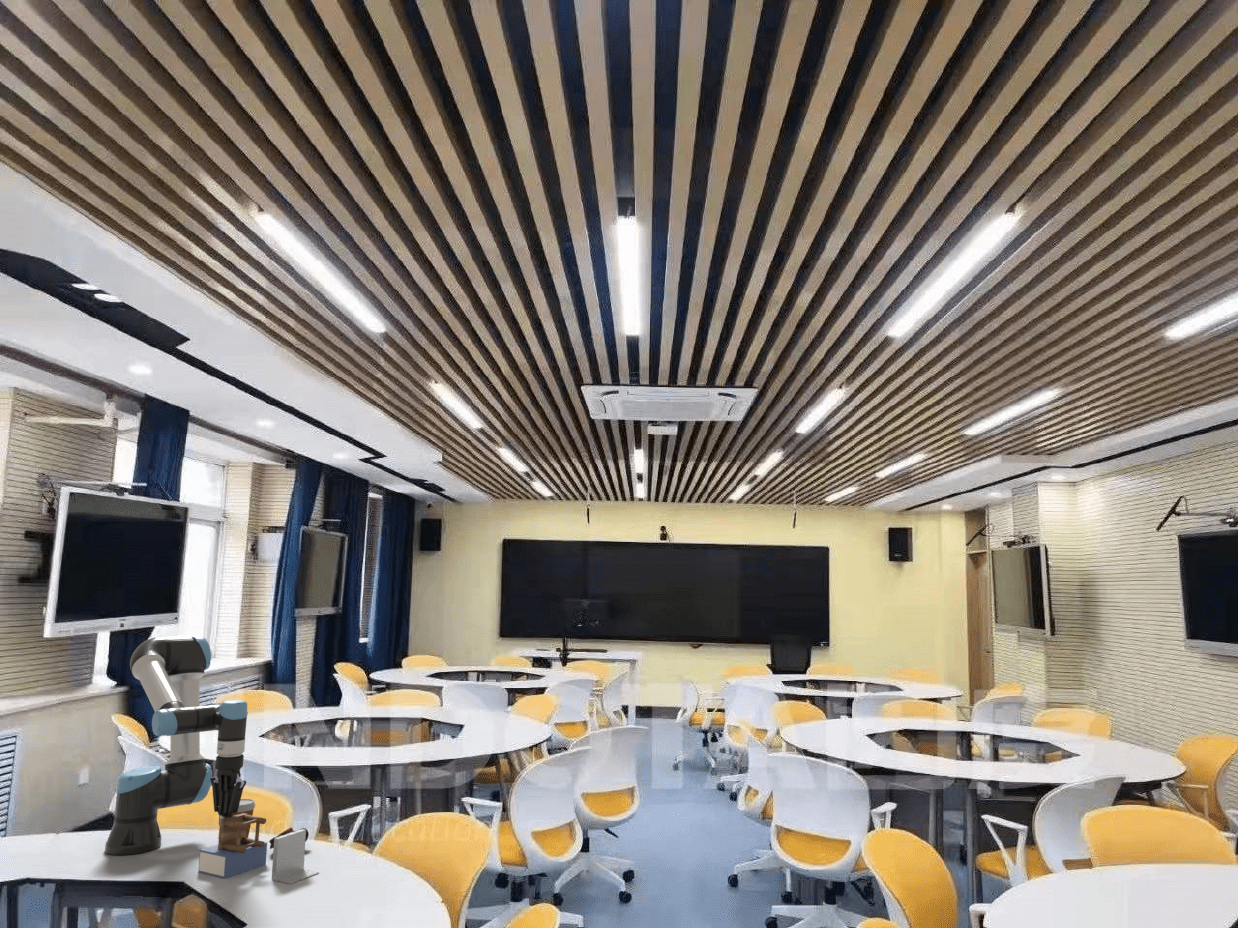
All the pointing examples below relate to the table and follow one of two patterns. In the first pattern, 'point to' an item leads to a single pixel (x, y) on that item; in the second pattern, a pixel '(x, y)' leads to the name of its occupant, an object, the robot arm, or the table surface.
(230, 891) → the table surface
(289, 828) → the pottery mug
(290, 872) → the bookend
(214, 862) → the book
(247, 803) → the disposable coffee cup
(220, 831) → the stool
